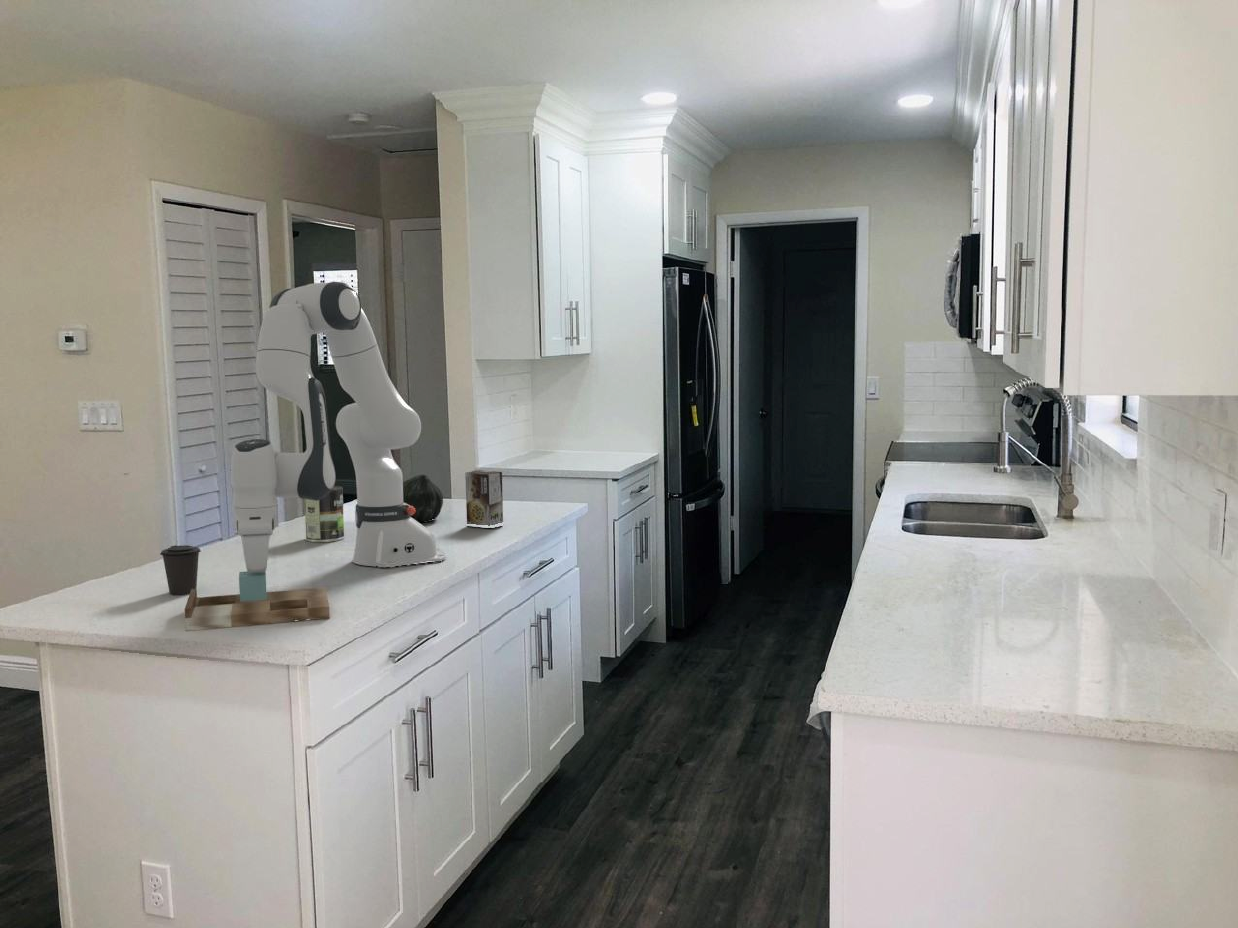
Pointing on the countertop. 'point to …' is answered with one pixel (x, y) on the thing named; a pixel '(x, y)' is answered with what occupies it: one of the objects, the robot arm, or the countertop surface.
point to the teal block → (252, 586)
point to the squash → (423, 497)
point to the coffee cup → (181, 568)
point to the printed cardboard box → (484, 497)
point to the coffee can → (325, 517)
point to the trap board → (255, 609)
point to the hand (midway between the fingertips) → (258, 584)
